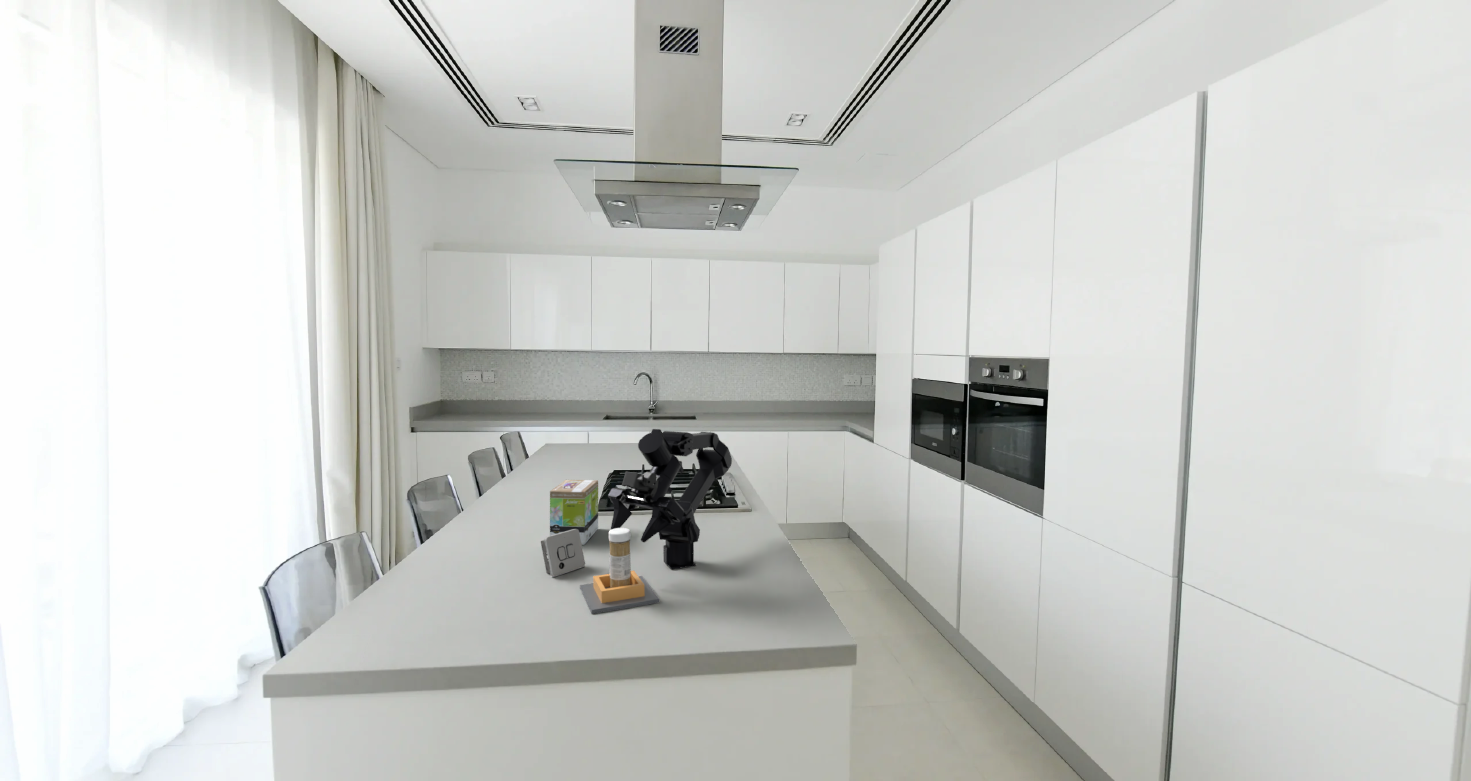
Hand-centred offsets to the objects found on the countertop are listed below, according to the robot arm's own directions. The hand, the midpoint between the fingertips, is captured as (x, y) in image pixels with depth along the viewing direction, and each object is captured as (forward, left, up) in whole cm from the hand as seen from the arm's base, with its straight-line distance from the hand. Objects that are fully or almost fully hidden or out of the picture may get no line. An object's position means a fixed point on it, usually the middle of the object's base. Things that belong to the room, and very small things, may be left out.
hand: (626, 537), depth 136 cm
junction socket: (+2, +2, -12) cm, 12 cm away
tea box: (+4, -43, -12) cm, 45 cm away
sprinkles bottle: (+2, +2, -11) cm, 12 cm away
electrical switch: (+11, -18, -12) cm, 25 cm away
